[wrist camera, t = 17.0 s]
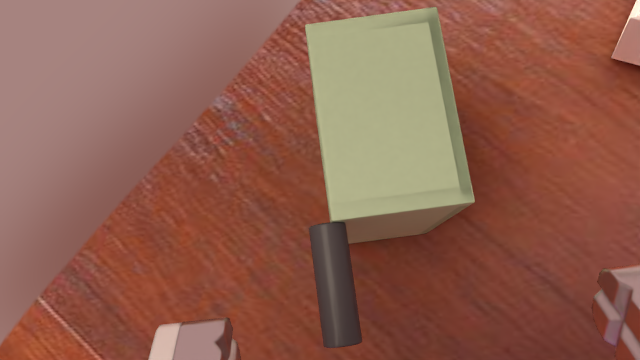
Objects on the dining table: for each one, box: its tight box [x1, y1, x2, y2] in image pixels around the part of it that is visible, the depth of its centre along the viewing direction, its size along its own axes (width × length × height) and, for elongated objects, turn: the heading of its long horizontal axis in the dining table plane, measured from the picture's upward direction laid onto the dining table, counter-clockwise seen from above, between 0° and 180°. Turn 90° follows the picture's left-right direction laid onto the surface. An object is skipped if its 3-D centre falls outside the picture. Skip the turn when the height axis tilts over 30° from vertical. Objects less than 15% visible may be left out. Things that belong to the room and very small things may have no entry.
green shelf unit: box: [305, 7, 475, 348], centre depth 28 cm, size 7×14×12 cm, turn 7°
